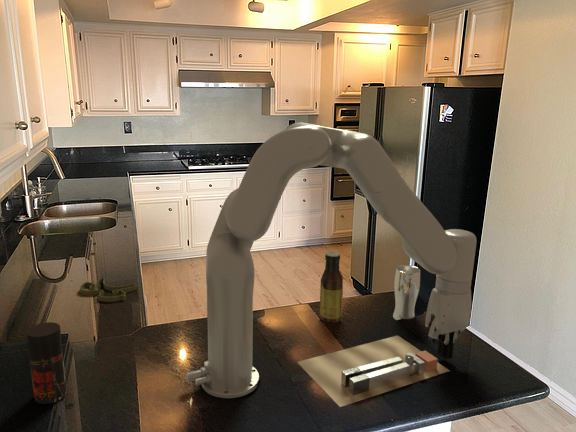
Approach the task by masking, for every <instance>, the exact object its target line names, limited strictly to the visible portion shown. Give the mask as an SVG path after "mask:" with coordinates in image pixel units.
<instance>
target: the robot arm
mask: <svg viewBox="0 0 576 432" xmlns="http://www.w3.org/2000/svg"><path fill="white" fill-rule="evenodd" d="M318 166H322V167H323V166H324V167H329V168H336V169H343V170H344V171H346V172H347V173H348V174H349V177H350V178H351V179H352V180H353V182H354V183H355V184H356V186H357V187H358V189H359V190H360V191H361V193H362V194H363V195H364V197H365V198H366V200H367V201H368V202H369V204H370V205H371V206H372V208H373V209H374V211H375V212H376V213H377V214H378V215H379V216H380V218H382V219H383V220H384V221H385V222H386V223H387V224H389V225H390V226H391V227H392V228H393V229H394V230H395V231H396V232H397V233H398V234H399V235H400V236H401V237H402V241H401V244H402V245H401V246H402V249H403V252H404V253H405V254H406V255H407V256H408V257H409V258H410V259H411V260H412V261H414V262H415V263H417V264H418V265H419V266H420V267H422V268H423V269H424V270H426V271H427V272H428V273H431V274H433V275H436V276H435V277H436V278H435V286H434V288H432V290H431V293H430V295H429V300H428V304H427V308H426V314H425V320H424V321H425V322H424V326H425V327H426V328H429V330H428V337H430V338H431V339H435V340H437V341H438V343H437V351H436V353H437V355H438V356H440V357H441V358H443V359H444V360H449V359H453V356H454V355H453V354H454V347H455V343H456V342H457V339H458V336H459V334H460V333H461V332H463V331H465V330H466V328H468V326H469V325H470V321H471V312H472V290H471V289H472V288H471V287H472V280H473V271H474V267H475V266H474V264H475V256H476V250H477V242H478V241H477V236H476V235H475V233H474V232H471V231H468V230H464V229H461V228H460V229H459V228H458V229H457V228H450V229H445V228H443V226H442V225H441V223H440V222H439V221H438V219H437V218H436V217H435V216H434V215H433V214H432V212H431V211H430V210H429V209H428V207H426V206H425V205H424V203H423V202H422V200H421V199H420V198H419V196H417V195H416V194H415V192H414V191H413V190H412V189H411V188H410V186H409V185H408V184H407V182H406V180H405V179H404V178H403V176H402V175H401V174H400V172H399V170H398V169H397V168H396V166H395V164H394V163H393V162H392V159H390V156H389V155H388V154H387V152H386V151H385V149H384V148H383V146H382V145H381V143H380V142H379V141H378V140H377V139H376V138H375V137H373V135H370V134H367V133H363V132H359V131H354V130H347V129H346V130H345V129H339V128H333V127H328V126H322V125H319V124H317V125H316V124H312V123H307V122H301V121H300V122H295V123H292V124H289V125H288V126H287V127H286V128H285V129H284V130H282V131H280V132H278V133H276V134H274V135H273V136H271V137H269V138H268V139H267V140H266V141H264V142H263V143H262V144H261V145H260V146H259V148H257V150H256V151H255V153H254V155H253V156H252V157H251V160H250V162H249V164H248V166H247V168H246V170H245V172H244V175H243V177H242V179H241V181H240V184H239V186H238V188H236V189H234V190H233V191H231V192H230V193H229V194H228V195H227V197H226V198H225V200H224V202H223V204H222V207H221V208H220V209H221V210H220V212H219V215H218V216H217V219H216V221H215V224H214V227H213V230H212V232H211V234H210V238H209V240H208V243H207V246H206V252H205V253H206V257H205V260H206V261H205V264H206V265H205V266H206V267H205V275H206V276H205V277H206V278H205V279H206V282H205V283H206V313H207V314H206V319H207V360H206V361H204V362H203V366H202V367H200V368H199V369H197V370H192V371H187V372H185V379H186V381H187V382H188V383H189V382H193V381H194V382H195V386H200V385H201V388H202V390H204V391H205V392H206V394H208V395H210V396H213V397H215V398H220V399H236V398H240V397H244V396H247V395H248V394H250V393H252V392H253V391H254V390H256V388H258V385H259V383H260V373H259V372H258V370H257V369H256V367H254V366H253V350H254V349H253V348H254V347H253V343H254V342H253V335H254V333H253V331H254V328H253V325H254V324H253V323H254V322H253V321H254V318H253V317H254V315H253V314H254V313H253V311H254V307H253V305H254V303H253V302H254V288H255V287H254V286H255V275H256V274H255V264H254V258H253V255H252V252H251V251H252V250H251V249H252V247H253V244H254V242H255V241H258V240H260V239H261V238H262V237H263V236H264V235H266V233H267V232H268V230H269V229H270V226H271V224H272V222H273V217H274V215H275V213H276V210H277V208H278V205H279V203H280V201H281V198H282V196H283V194H284V191H285V189H286V188H287V185H288V183H289V182H290V180H291V179H292V178H293V177H294V176H295V175H296V174H297V173H298V172H301V171H302V170H304V169H309V168H315V167H318ZM444 229H445V230H444ZM254 370H255V371H254Z"/></svg>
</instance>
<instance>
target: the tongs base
mask: <svg viewBox="0 0 576 432" xmlns="http://www.w3.org/2000/svg"><path fill="white" fill-rule="evenodd" d="M424 366H425V362H424V361H422V360H421V359H420V358H418V357H417V356H415V355H414V354H412V353H411V352H410V353H407V354H406V356H405V362H404V363H401V364H398V365H394V366H391V367H388V368H384V369H381V370H378V371H374V372H371V373H368V374H362V375H359V376H356V377H352V378H350V380H349V392H350V393H351V394H352V395H353V396H354V395H357V394H360V393H363V392H366V391H369V390H372V389H375V388H378V387H381V386H384V385H387V384H390V383H394V382H397V381H400V380H403V379H406V378H409V374H412V373H415V374H417V375H418V376H419V375H423V374H424Z"/></svg>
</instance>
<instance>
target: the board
mask: <svg viewBox="0 0 576 432" xmlns="http://www.w3.org/2000/svg"><path fill="white" fill-rule="evenodd" d="M422 351H423V350H420V349H418V348H417V347H416V346H414V345H412V344H411V343H410V342H408V341H407V340H405V339H404V338H402V337H401V336H400V335H394V336H390V337H387V338H382V339H379V340H375V341H370V342H368V343H363V344H360V345H359V344H358V345H356V346H353V347H349V348H344V349H341V350H337V351H334V352H330V353H326V354H322V355H319V356H314V357H310V358H308V359H307V358H306V359H303V360H299V361H297V362H296V363H297V364H298V365H299V366H300V367H301V368H302V369H303V370H304V371H305V372H306V373H307V375H308V376H310V377H311V379H312V380H313V381H314V382H315V383H316V384H317V385H318V386H319V387H320V388H321V389H322V390H323V391H324V392H325V393H326V394H327V395H328V396H329V398H330V399H332V401H333V402H335V404H336V405H338V407H339V408H342V407H345V406H348V405H351V404H354V403H357V402H360V401H362V400H365V399H366V400H367V399H368V398H372V397H374V396H379V395H381V394H384V393H387V392H391V391H393V390H396V389H399V388H402V387H406V386H408V385H411V384H412V385H413V384H415V383H419V382H420V381H424V380H426V379H427V380H428V379H430V378H433V377H436V376H438V375H441V374H444V373H447V372H451V370H449V368H447V367H446V366H444V365H442V364H440V363H439V361H438V362H437V369H434V370H431V371H428V372H427V371H425V370H424V374H423V375H419V376H418V375H417V374H415V373H412V374H409V378H406V379H403V380H400V381H397V382H394V383H390V384H387V385H384V386H381V387H378V388H375V389H372V390H369V391H366V392H363V393H360V394H357V395H354V396H353V395H352V394H351V393H350V392H349V387H344V386H343V385H342V384H341V377H342V371H344V370H348V369H352V368H356V367H360V366H364V365H368V364H372V363H376V362H379V361H383V360H387V359H391V358H395V357H400V358H401V359H402V360H403V362H402V363H404V362H405V356H406V354H407V353H410V352H411V353H412V354H414V355H416V353H419V352H422Z"/></svg>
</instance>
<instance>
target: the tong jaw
mask: <svg viewBox="0 0 576 432" xmlns="http://www.w3.org/2000/svg"><path fill="white" fill-rule="evenodd" d="M402 362H403V360H402V359H401V358H400V357H395V358H391V359H387V360H383V361H379V362H376V363H372V364H368V365H364V366H360V367H356V368H352V369H348V370H344V371H342V377H341V384H342V385H343V386H344V387H349V380H350V378H352V377H356V376H359V375H362V374H368V373H371V372H374V371H378V370H381V369H384V368H388V367H391V366H394V365H398V364H401V363H402Z"/></svg>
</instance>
